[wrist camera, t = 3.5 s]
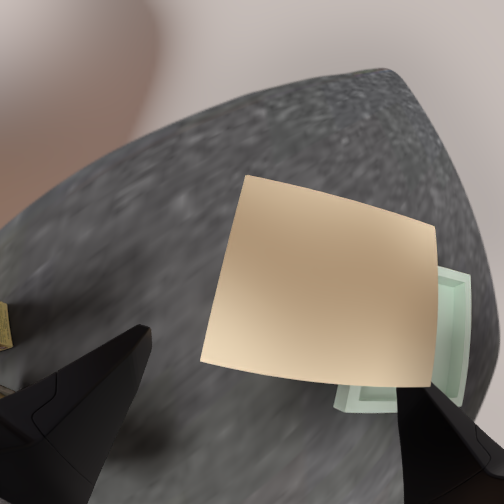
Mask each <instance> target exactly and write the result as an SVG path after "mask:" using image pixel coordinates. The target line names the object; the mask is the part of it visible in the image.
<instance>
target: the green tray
mask: <svg viewBox="0 0 504 504" xmlns="http://www.w3.org/2000/svg"><path fill="white" fill-rule="evenodd" d="M470 337H471V279H470V275H468V274H465V273H461V272H458V271H454V270H451V269H447V268H444V267H440V266H438V319H437V335H436V347H435V356H434V365H433V372H432V379H431V382H432V383H433V384H434V385H436V386H437V387H438V388H439V389H440V390H441V391H442V392H443V393H444V394H445V395H446V396H447V397H448V398H449V399H450V400H451V401H452V402H453V403H455V404H456V405H457V406H458V407H460V406H462V402H463V397H464V391H465V385H466V378H467V370H468V362H469V351H470ZM334 408H336V409H338V410H340V411H342V412H345V413H396V412H397V395H396V387H372V386H354V385H341V384H338V387H337V392H336V397H335V402H334Z"/></svg>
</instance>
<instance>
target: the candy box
mask: <svg viewBox="0 0 504 504" xmlns="http://www.w3.org/2000/svg"><path fill="white" fill-rule="evenodd" d="M11 347H13V343H12V338H11V333H10V325H9V317H8V308H7V304H6V303H3V302H0V351H2V350H5V349H9V348H11Z"/></svg>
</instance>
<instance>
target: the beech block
mask: <svg viewBox="0 0 504 504" xmlns="http://www.w3.org/2000/svg"><path fill="white" fill-rule="evenodd" d="M437 319H438V263H437V246H436V234H435V226H432V225H429V224H426V223H423V222H420V221H417V220H414V219H411V218H408V217H405V216H402V215H399V214H396V213H393V212H390V211H387V210H383V209H380V208H377V207H373V206H370V205H367V204H363V203H360V202H356V201H353V200H349V199H346V198H342V197H338V196H335V195H331V194H327V193H323V192H319V191H315V190H311V189H307V188H303V187H299V186H295V185H291V184H286V183H282V182H277V181H273V180H268V179H264V178H259V177H254V176H249V175H246V176H245V180H244V184H243V187H242V191H241V195H240V199H239V203H238V206H237V210H236V214H235V218H234V222H233V226H232V229H231V233H230V237H229V241H228V245H227V249H226V253H225V257H224V261H223V265H222V269H221V273H220V277H219V282H218V286H217V290H216V294H215V298H214V302H213V307H212V311H211V315H210V319H209V324H208V328H207V332H206V337H205V341H204V346H203V350H202V355H201V359H200V361H201V362H205V363H210V364H214V365H218V366H223V367H227V368H232V369H237V370H242V371H247V372H252V373H258V374H263V375H269V376H275V377H282V378H288V379H295V380H303V381H311V382H320V383H330V384H341V385H354V386H372V387H430V385H431V379H432V372H433V365H434V356H435V347H436V335H437Z"/></svg>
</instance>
